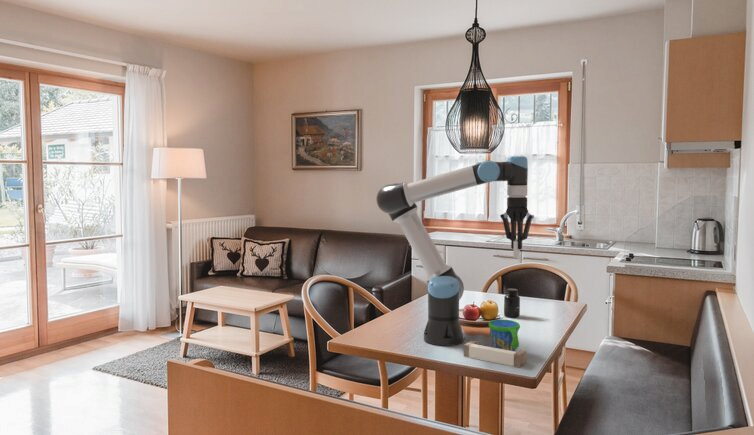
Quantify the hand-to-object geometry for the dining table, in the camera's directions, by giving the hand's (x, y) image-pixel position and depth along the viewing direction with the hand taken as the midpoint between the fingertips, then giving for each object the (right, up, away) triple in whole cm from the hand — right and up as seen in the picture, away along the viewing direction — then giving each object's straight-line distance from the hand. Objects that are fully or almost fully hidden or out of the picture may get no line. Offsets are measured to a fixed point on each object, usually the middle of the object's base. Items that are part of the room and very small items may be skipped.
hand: (516, 257), depth 213 cm
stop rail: (-14, -33, -27) cm, 44 cm away
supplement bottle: (+6, -28, +30) cm, 42 cm away
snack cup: (-9, -32, -18) cm, 38 cm away
